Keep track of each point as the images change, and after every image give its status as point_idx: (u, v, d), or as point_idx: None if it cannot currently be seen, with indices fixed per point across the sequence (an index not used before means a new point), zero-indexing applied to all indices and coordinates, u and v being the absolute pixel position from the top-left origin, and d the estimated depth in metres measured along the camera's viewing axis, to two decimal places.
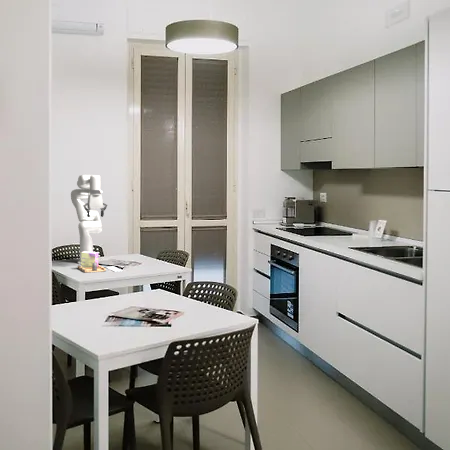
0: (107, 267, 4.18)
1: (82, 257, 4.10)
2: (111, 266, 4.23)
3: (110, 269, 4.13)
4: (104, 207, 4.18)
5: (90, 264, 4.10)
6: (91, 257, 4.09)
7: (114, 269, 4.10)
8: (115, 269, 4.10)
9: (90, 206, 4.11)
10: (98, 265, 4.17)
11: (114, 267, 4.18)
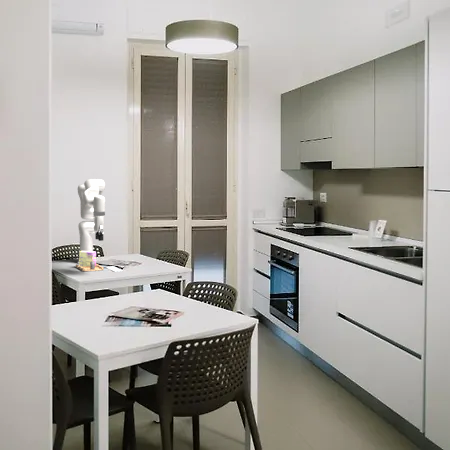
0: (107, 267, 4.18)
1: (80, 256, 4.15)
2: (111, 266, 4.23)
3: (110, 269, 4.13)
4: None
5: (88, 263, 4.14)
6: (88, 256, 4.14)
7: (114, 269, 4.10)
8: (115, 269, 4.10)
9: (103, 229, 3.89)
10: (96, 264, 4.22)
11: (114, 267, 4.18)
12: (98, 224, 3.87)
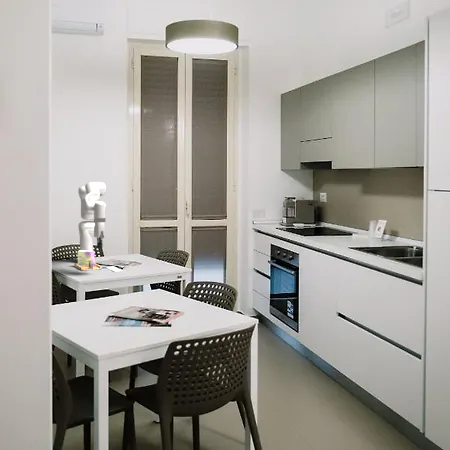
0: (107, 267, 4.18)
1: (78, 255, 4.19)
2: (111, 266, 4.23)
3: (110, 269, 4.13)
4: (99, 238, 3.92)
5: (86, 262, 4.18)
6: (87, 255, 4.17)
7: (114, 269, 4.10)
8: (115, 269, 4.10)
9: (104, 235, 3.87)
10: (94, 263, 4.26)
11: (114, 267, 4.18)
12: (99, 231, 3.85)
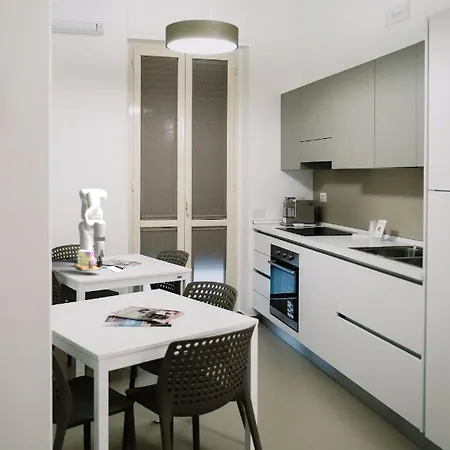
0: (107, 267, 4.18)
1: (78, 255, 4.19)
2: (111, 266, 4.23)
3: (110, 269, 4.13)
4: None
5: (86, 262, 4.18)
6: (87, 255, 4.17)
7: (114, 269, 4.10)
8: (115, 269, 4.10)
9: None
10: (94, 263, 4.26)
11: (114, 267, 4.18)
12: (99, 249, 3.86)
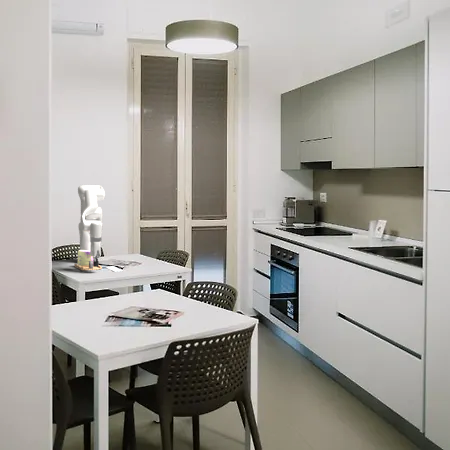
0: (107, 267, 4.18)
1: (78, 255, 4.18)
2: (111, 266, 4.23)
3: (110, 269, 4.13)
4: None
5: (86, 262, 4.18)
6: (87, 255, 4.17)
7: (114, 269, 4.10)
8: (115, 269, 4.10)
9: (100, 254, 3.97)
10: None
11: (114, 267, 4.18)
12: (95, 250, 3.94)
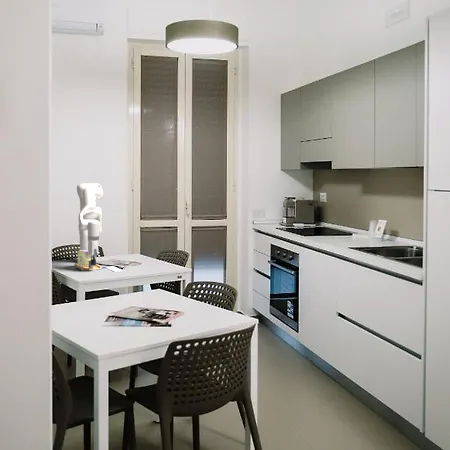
0: (107, 267, 4.18)
1: (78, 255, 4.19)
2: (111, 266, 4.23)
3: (110, 269, 4.13)
4: (92, 255, 4.07)
5: (86, 262, 4.18)
6: (87, 255, 4.17)
7: (114, 269, 4.10)
8: (115, 269, 4.10)
9: (97, 253, 4.02)
10: None
11: (114, 267, 4.18)
12: (93, 248, 3.99)
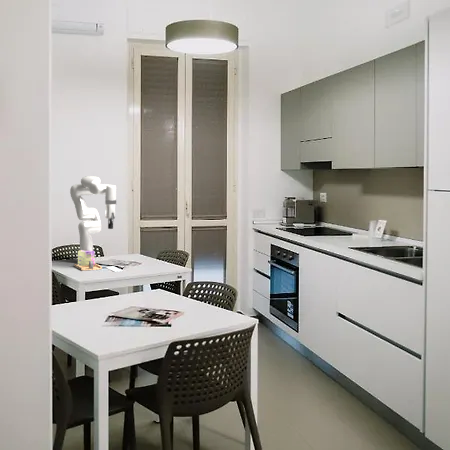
0: (107, 267, 4.18)
1: (78, 256, 4.18)
2: (111, 266, 4.23)
3: (110, 269, 4.13)
4: None
5: (86, 262, 4.18)
6: (87, 255, 4.17)
7: (114, 269, 4.10)
8: (115, 269, 4.10)
9: None
10: (94, 263, 4.25)
11: (114, 267, 4.18)
12: (110, 212, 4.06)
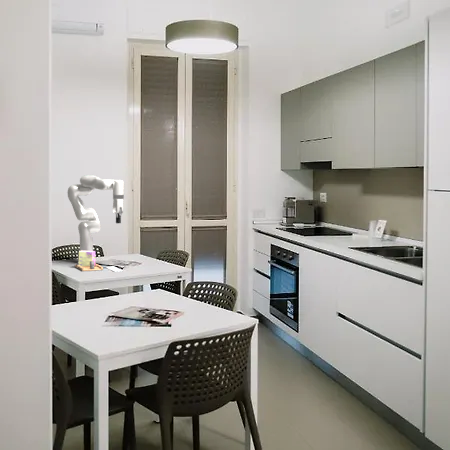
0: (107, 267, 4.18)
1: (79, 256, 4.16)
2: (111, 266, 4.23)
3: (110, 269, 4.13)
4: None
5: (87, 263, 4.16)
6: (88, 256, 4.15)
7: (114, 269, 4.10)
8: (115, 269, 4.10)
9: (122, 211, 4.15)
10: (95, 264, 4.23)
11: (114, 267, 4.18)
12: (118, 206, 4.12)
